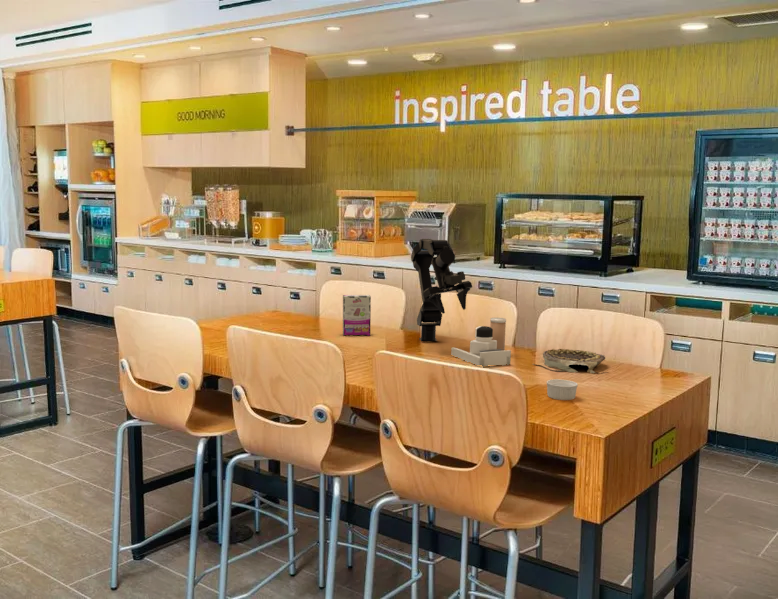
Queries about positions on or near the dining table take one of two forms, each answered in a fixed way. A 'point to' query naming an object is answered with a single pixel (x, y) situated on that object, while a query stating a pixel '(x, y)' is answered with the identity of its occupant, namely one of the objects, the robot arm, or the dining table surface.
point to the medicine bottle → (482, 340)
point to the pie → (571, 359)
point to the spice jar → (498, 331)
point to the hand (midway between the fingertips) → (454, 311)
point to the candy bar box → (356, 314)
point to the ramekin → (561, 389)
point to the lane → (484, 356)
